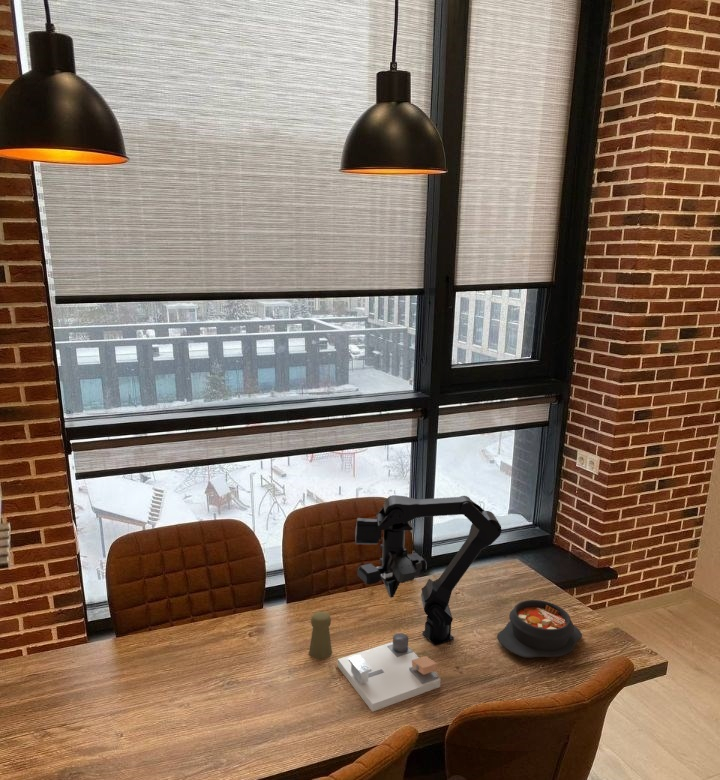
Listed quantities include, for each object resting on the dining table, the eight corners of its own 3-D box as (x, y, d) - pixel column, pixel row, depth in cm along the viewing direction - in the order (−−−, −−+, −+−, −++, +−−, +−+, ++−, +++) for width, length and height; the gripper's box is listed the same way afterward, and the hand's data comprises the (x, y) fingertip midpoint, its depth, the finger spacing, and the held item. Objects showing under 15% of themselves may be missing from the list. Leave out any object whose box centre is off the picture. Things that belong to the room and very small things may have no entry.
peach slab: (426, 661, 154) (425, 655, 154) (437, 669, 150) (437, 663, 150) (411, 666, 152) (411, 660, 152) (422, 674, 148) (422, 668, 148)
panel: (400, 645, 166) (401, 637, 165) (440, 686, 150) (440, 677, 150) (337, 666, 157) (337, 657, 156) (372, 711, 141) (372, 701, 141)
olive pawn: (328, 661, 159) (329, 622, 156) (306, 657, 160) (306, 619, 157) (334, 647, 164) (335, 609, 162) (312, 643, 166) (313, 606, 163)
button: (402, 641, 164) (403, 631, 163) (410, 650, 160) (411, 640, 160) (389, 645, 162) (390, 635, 161) (397, 654, 158) (398, 644, 158)
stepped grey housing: (359, 667, 152) (359, 654, 152) (371, 682, 147) (371, 669, 147) (348, 671, 151) (348, 658, 150) (360, 686, 146) (360, 672, 145)
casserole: (547, 613, 184) (549, 587, 182) (597, 647, 168) (601, 620, 166) (481, 635, 172) (483, 608, 170) (529, 675, 156) (532, 645, 154)
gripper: (378, 564, 153) (376, 620, 156) (440, 549, 161) (436, 603, 165) (357, 545, 162) (355, 599, 166) (416, 532, 171) (413, 583, 174)
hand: (391, 596), depth 167 cm, fingers closed
